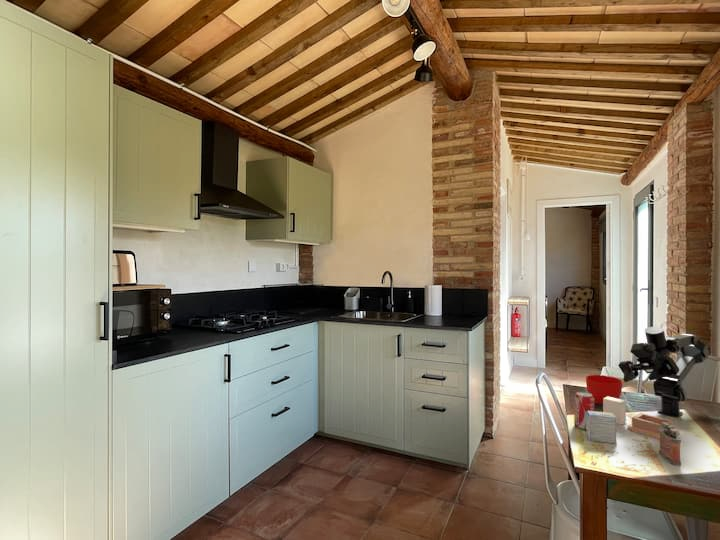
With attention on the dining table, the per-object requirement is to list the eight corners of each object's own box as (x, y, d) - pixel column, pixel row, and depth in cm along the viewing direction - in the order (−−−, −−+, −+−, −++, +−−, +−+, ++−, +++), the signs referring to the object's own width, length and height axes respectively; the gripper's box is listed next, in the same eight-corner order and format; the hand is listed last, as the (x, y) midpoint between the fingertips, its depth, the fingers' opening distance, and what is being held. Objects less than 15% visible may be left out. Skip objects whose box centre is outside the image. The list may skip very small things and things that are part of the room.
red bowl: (611, 395, 174) (611, 373, 174) (627, 409, 157) (627, 384, 157) (578, 394, 177) (578, 371, 177) (592, 407, 160) (591, 382, 160)
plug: (607, 417, 150) (607, 396, 150) (625, 422, 145) (625, 400, 145) (603, 419, 147) (603, 398, 147) (621, 424, 143) (621, 402, 142)
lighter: (684, 466, 113) (684, 431, 113) (670, 465, 114) (670, 430, 113) (668, 453, 121) (668, 420, 121) (655, 452, 121) (655, 420, 121)
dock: (638, 422, 144) (638, 411, 144) (679, 433, 135) (679, 421, 135) (627, 429, 138) (627, 417, 138) (669, 441, 129) (669, 428, 129)
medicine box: (613, 438, 131) (612, 412, 131) (616, 444, 127) (616, 417, 127) (586, 435, 134) (586, 410, 134) (589, 440, 130) (589, 414, 130)
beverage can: (570, 424, 143) (570, 391, 143) (586, 423, 144) (586, 390, 144) (581, 431, 137) (581, 397, 137) (598, 430, 138) (598, 396, 138)
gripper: (620, 342, 156) (600, 363, 149) (669, 334, 140) (649, 357, 132) (636, 367, 155) (617, 389, 148) (688, 361, 138) (669, 386, 131)
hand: (636, 380), depth 140 cm, fingers open, 9 cm apart
